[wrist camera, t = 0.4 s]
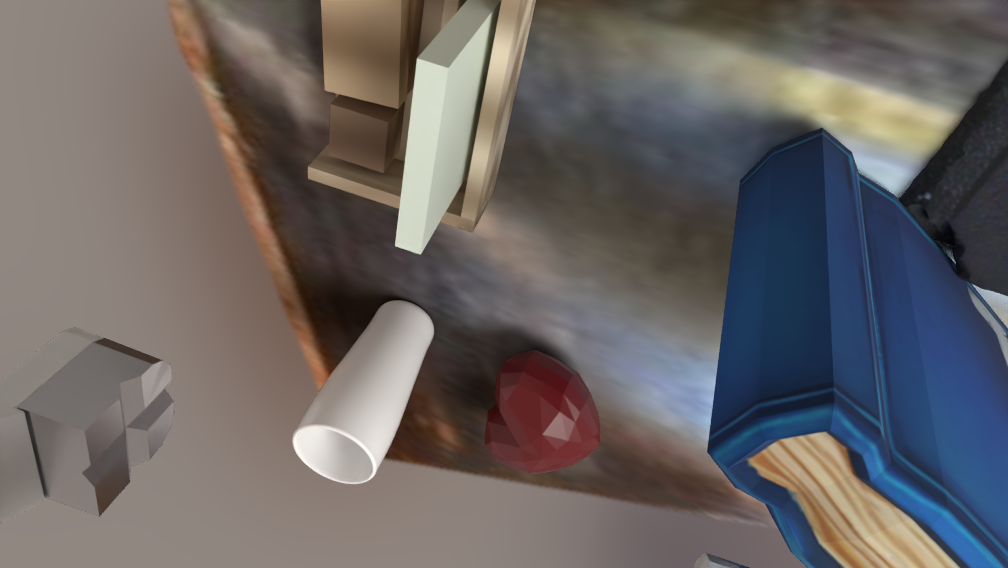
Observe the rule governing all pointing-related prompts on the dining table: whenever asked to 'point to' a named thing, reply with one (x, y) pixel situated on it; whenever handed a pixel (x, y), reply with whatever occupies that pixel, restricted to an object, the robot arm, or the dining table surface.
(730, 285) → the book
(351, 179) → the rack
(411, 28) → the offcut low
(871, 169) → the dining table surface
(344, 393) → the drinking glass
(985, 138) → the dark slate chunk
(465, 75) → the sheet
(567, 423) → the heart
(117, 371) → the robot arm
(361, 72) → the offcut top
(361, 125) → the offcut small
